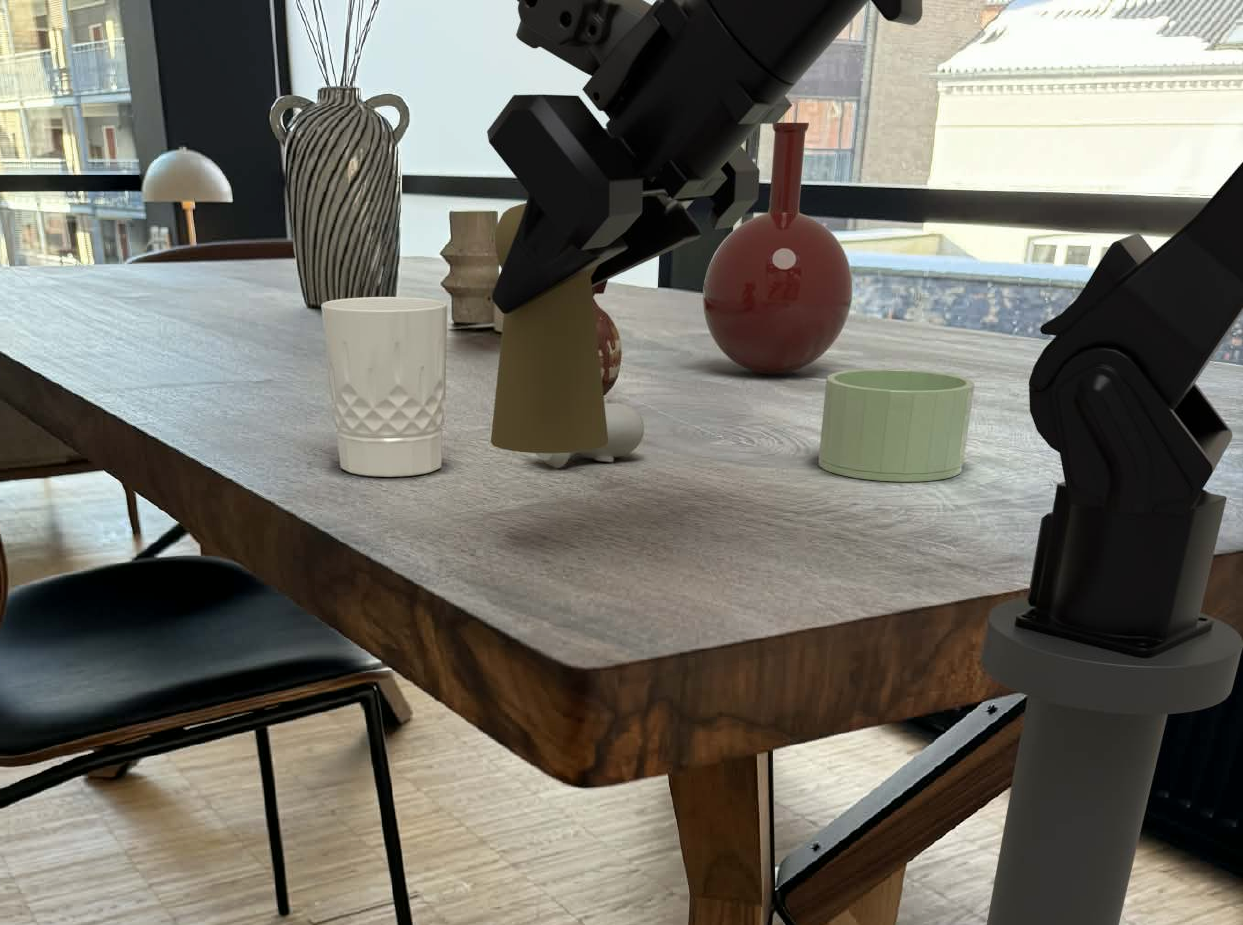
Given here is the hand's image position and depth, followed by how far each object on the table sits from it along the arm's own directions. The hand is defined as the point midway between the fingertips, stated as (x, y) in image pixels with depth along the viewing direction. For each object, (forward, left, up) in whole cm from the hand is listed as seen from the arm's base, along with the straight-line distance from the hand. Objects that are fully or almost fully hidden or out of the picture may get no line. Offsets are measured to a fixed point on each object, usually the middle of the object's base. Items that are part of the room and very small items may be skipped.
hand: (524, 301), depth 72 cm
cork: (-1, 0, -7) cm, 7 cm away
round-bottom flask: (+30, -59, -12) cm, 67 cm away
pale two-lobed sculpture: (+14, -19, -12) cm, 27 cm away
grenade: (+30, -33, -13) cm, 46 cm away
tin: (-1, -33, -12) cm, 35 cm away
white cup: (+21, -8, -12) cm, 26 cm away
